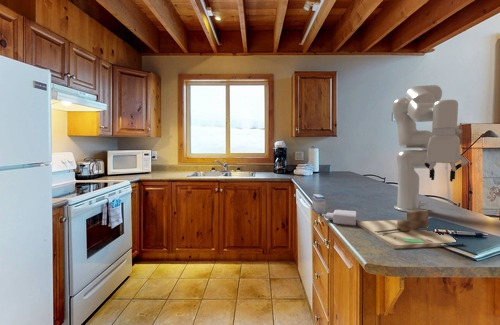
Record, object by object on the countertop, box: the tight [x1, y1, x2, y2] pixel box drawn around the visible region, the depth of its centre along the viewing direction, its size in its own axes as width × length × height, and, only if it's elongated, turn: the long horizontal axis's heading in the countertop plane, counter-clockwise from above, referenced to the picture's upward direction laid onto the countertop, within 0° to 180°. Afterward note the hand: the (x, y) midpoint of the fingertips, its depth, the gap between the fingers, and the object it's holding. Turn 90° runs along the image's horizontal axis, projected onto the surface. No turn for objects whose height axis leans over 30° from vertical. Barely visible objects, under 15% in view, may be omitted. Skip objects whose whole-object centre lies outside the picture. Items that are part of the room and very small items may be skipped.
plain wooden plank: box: [377, 209, 430, 233], centre depth 101 cm, size 24×4×7 cm, turn 105°
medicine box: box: [311, 193, 327, 215], centre depth 134 cm, size 8×4×9 cm, turn 5°
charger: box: [321, 209, 357, 227], centre depth 118 cm, size 5×9×15 cm
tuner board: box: [356, 219, 456, 250], centre depth 101 cm, size 26×26×1 cm
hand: (441, 180), depth 99 cm, fingers open, 5 cm apart
